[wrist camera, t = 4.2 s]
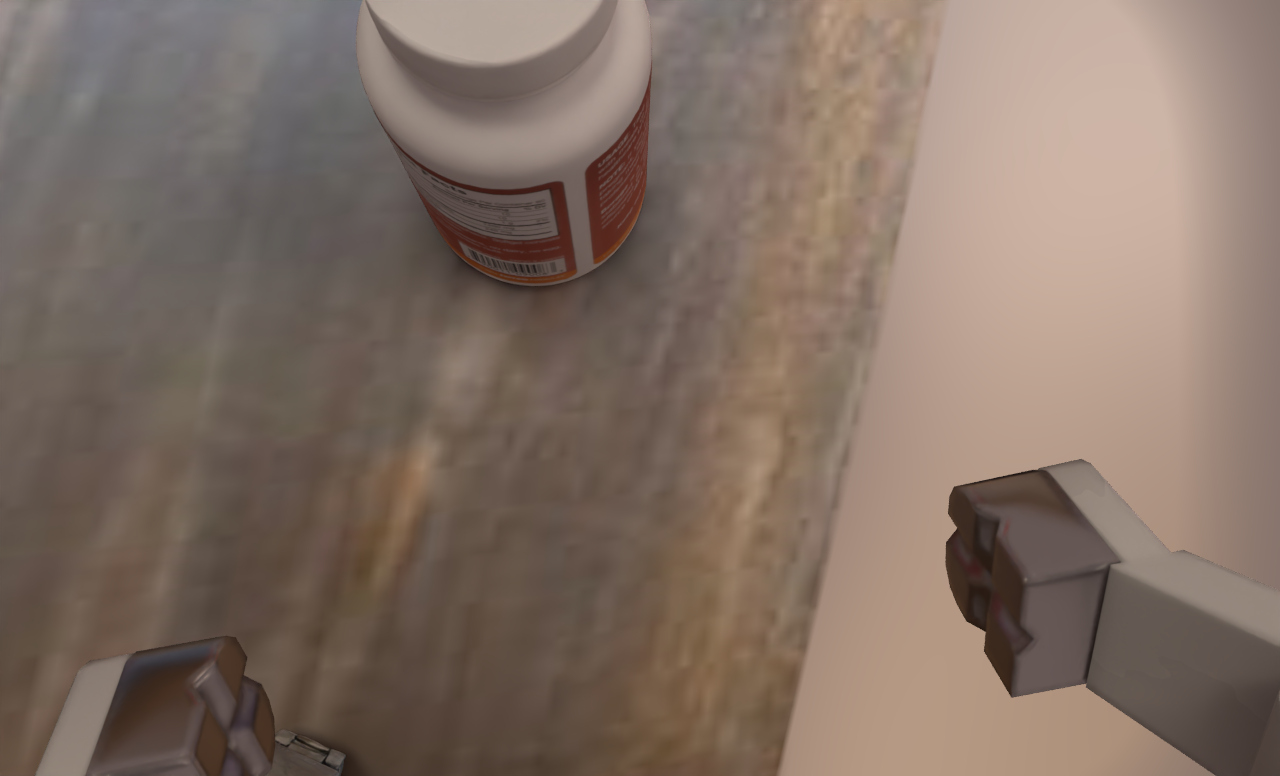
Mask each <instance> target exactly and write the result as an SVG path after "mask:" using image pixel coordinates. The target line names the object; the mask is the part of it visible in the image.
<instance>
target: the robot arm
mask: <svg viewBox="0 0 1280 776" xmlns="http://www.w3.org/2000/svg"><path fill="white" fill-rule="evenodd" d="M948 514H949V516H950V517H951V519H952V520H953V522H954V524H955V525H956V527H957V530H956V531H955V532H954V533H953V534H952V536H951V537H950V538H949V539H948V541H947V542H946V569H947V574H948V579H949V584H950V588H951V590H952V593H953V596H954V598H955V601H956V603H957V605H958V607H959V609H960V611H961V612H962V614H963V616H964V618H965V619H966V621H967V622H969V623H971V624H972V625H974V626H976V627H978V628H980V629H982V630H983V631H985V632H986V635H985V646H984V652H985V654H986V655H987V657H988V659H989V660H990V662H991V664H992V666H993V667H994V669H995V670H996V672H997V674H998V676H999V677H1000V679H1001V681H1002V682H1003V684H1004V686H1005V687H1006V689H1007V691H1008V692H1009V694H1010V696H1011V697H1017V696H1023V695H1028V694H1033V693H1039V692H1044V691H1049V690H1054V689H1059V688H1065V687H1070V686H1076V685H1081V684H1086V683H1087V684H1086V688H1088V689H1089V690H1091V691H1092V692H1094V693H1095V694H1096V695H1098V696H1100V697H1101V698H1102V699H1104V700H1105V701H1107V702H1108V703H1110V704H1111V705H1113V706H1114V707H1116V708H1117V709H1119V710H1120V711H1122V712H1123V713H1125V714H1126V715H1127V716H1129V717H1130V718H1132V719H1133V720H1135V721H1136V722H1138V723H1139V724H1141V725H1142V726H1144V727H1145V728H1147V729H1148V730H1149V731H1151V732H1153V733H1154V734H1155V735H1157V736H1158V737H1160V738H1161V739H1163V740H1164V741H1166V742H1167V743H1169V744H1170V745H1172V746H1173V747H1175V748H1176V749H1178V750H1179V751H1181V752H1182V753H1183V754H1185V755H1186V756H1188V757H1189V758H1191V759H1192V760H1194V761H1195V762H1197V763H1198V764H1200V765H1201V766H1202V767H1204V768H1206V769H1207V770H1208V771H1210V772H1212V773H1213V774H1214V775H1216V776H1280V591H1279V590H1277V589H1274V588H1272V587H1270V586H1267V585H1265V584H1263V583H1260V582H1258V581H1256V580H1253V579H1251V578H1249V577H1246V576H1244V575H1241V574H1239V573H1237V572H1234V571H1232V570H1230V569H1227V568H1225V567H1223V566H1220V565H1218V564H1215V563H1213V562H1211V561H1208V560H1206V559H1204V558H1201V557H1199V556H1196V555H1194V554H1192V553H1189V552H1187V551H1185V550H1181V551H1176V552H1170V551H1169V550H1168V549H1167V548H1166V547H1165V545H1164V544H1163V543H1162V542H1161V541H1160V540H1159V539H1158V538H1157V537H1156V535H1155V534H1154V533H1153V532H1152V531H1151V530H1150V529H1149V528H1148V527H1147V525H1146V524H1144V522H1143V521H1142V520H1141V519H1140V518H1139V517H1138V515H1137V514H1135V512H1134V511H1133V510H1132V509H1131V508H1130V507H1129V505H1128V504H1127V503H1126V502H1125V501H1124V500H1123V499H1122V498H1121V497H1120V496H1119V495H1118V493H1117V492H1116V491H1115V490H1114V489H1113V488H1112V487H1111V486H1110V484H1109V483H1108V482H1107V481H1106V480H1105V479H1104V478H1103V477H1102V476H1101V474H1100V473H1099V472H1098V471H1097V470H1096V469H1095V468H1094V467H1093V466H1092V465H1091V463H1089V462H1086V461H1084V460H1082V459H1079V460H1075V461H1070V462H1065V463H1061V464H1056V465H1052V466H1047V467H1043V468H1039V469H1038V470H1031V471H1026V472H1021V473H1016V474H1012V475H1007V476H1003V477H997V478H993V479H988V480H983V481H979V482H974V483H970V484H965V485H960V486H956V487H954V488H953V490H952V492H951V494H950V497H949V509H948ZM246 661H247V656H246V654H245V653H244V651H243V649H242V647H241V646H240V644H239V642H238V641H237V639H236V637H231V636H221V637H215V638H209V639H204V640H198V641H193V642H187V643H182V644H176V645H170V646H165V647H159V648H154V649H148V650H143V651H137V652H135V653H133V654H127V655H121V656H115V657H109V658H104V659H98V660H92V661H89V662H88V663H86V664H85V665H84V666H83V667H82V668H81V669H80V670H79V671H78V673H77V674H76V676H75V679H74V681H73V684H72V686H71V689H70V691H69V693H68V696H67V698H66V701H65V703H64V705H63V708H62V710H61V713H60V715H59V718H58V720H57V722H56V725H55V727H54V730H53V732H52V735H51V737H50V739H49V742H48V744H47V747H46V749H45V752H44V754H43V756H42V759H41V761H40V764H39V766H38V769H37V771H36V773H35V776H266V775H267V774H268V773H269V772H270V770H271V769H272V764H273V758H274V751H275V726H274V716H273V712H272V709H271V705H270V702H269V699H268V697H267V695H266V693H265V691H264V689H263V687H262V685H261V684H260V683H258V682H256V681H254V680H252V679H250V678H248V677H246V676H244V670H245V666H246Z"/></svg>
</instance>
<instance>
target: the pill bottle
mask: <svg viewBox="0 0 1280 776" xmlns="http://www.w3.org/2000/svg"><path fill="white" fill-rule="evenodd" d="M356 54H357V61H358V67H359V72H360V76H361V80H362V83H363V86H364V89H365V91H366V94H367V96H368V99H369V101H370V103H371V106H372V108H373V110H374V112H375V114H376V116H377V118H378V120H379V122H380V123H381V125H382V127H383V129H384V130H385V132H386V134H387V136H388V137H389V139H390V141H391V143H392V145H393V147H394V149H395V150H396V152H397V154H398V156H399V158H400V160H401V162H402V164H403V165H404V168H405V170H406V171H407V173H408V175H409V178H410V179H411V181H412V183H413V185H414V186H415V188H416V190H417V192H418V194H419V196H420V198H421V199H422V201H423V203H424V205H425V207H426V209H427V211H428V213H429V215H430V216H431V218H432V220H433V222H434V224H435V226H436V227H437V229H438V231H439V232H440V234H441V235H442V237H443V238H444V240H445V241H446V243H447V244H448V245H449V246H450V247H451V248H452V250H453V251H454V252H455V253H456V254H457V255H458V256H459V257H461V258H462V259H463V260H464V261H465V262H466V263H468V264H469V265H470V266H472V267H474V268H475V269H477V270H478V271H480V272H482V273H484V274H486V275H488V276H490V277H493V278H495V279H497V280H500V281H504V282H507V283H512V284H517V285H526V286H546V285H554V284H559V283H563V282H567V281H570V280H573V279H575V278H578V277H580V276H582V275H584V274H587V273H588V272H590V271H592V270H594V269H595V268H597V267H598V266H600V265H601V264H602V263H604V262H605V261H606V260H607V259H608V258H609V257H611V256H612V255H613V254H614V253H615V252H616V251H617V249H618V248H619V247H620V246H621V245H622V243H623V242H624V241H625V239H626V238H627V236H628V235H629V234H630V232H631V230H632V228H633V227H634V225H635V223H636V221H637V218H638V216H639V213H640V210H641V207H642V203H643V199H644V193H645V187H646V174H647V151H648V130H649V108H650V87H651V71H652V38H651V26H650V19H649V14H648V10H647V7H646V3H645V0H363V1H362V5H361V8H360V12H359V17H358V22H357V33H356Z"/></svg>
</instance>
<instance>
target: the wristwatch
mask: <svg viewBox="0 0 1280 776" xmlns="http://www.w3.org/2000/svg"><path fill="white" fill-rule="evenodd" d="M345 758H346V755H345V754H344V753H341V752H339V751H336V750H334V749H330V748H327V747H325V746H323V745H321V744H320V743H318V742H316V741H314V740H312V739H310V738H307V737H305V736H302V735H298V734H295V733H293V732H290V731H288V730H285V729H281V730H280V731H279V732H277V733H276V734H275V751H274V758H273V764H272V769H271V770H270V772H269V773H268V774H267V775H266V776H341V772H342V770H343V764H344V759H345Z"/></svg>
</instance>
